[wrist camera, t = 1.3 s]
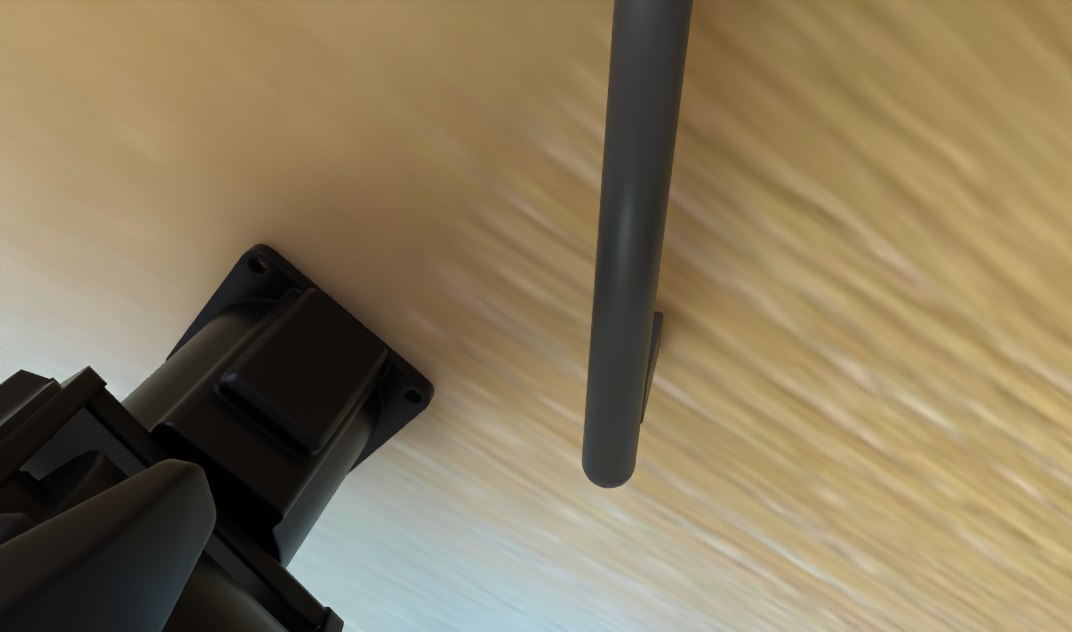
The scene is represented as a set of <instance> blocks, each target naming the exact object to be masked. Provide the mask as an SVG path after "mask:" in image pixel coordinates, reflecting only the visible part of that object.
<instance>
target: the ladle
mask: <svg viewBox="0 0 1072 632" xmlns="http://www.w3.org/2000/svg"><path fill="white" fill-rule="evenodd" d="M692 4H693V0H615V2H614V16H613V30H612V44H611V58H610V72H609V87H608V101H607V115H606V129H605V143H604V157H603V171H602V185H601V199H600V213H599V227H598V241H597V255H596V269H595V283H594V297H593V311H592V325H591V339H590V353H589V367H588V381H587V395H586V409H585V424H584V438H583V452H582V466H583V469H584V472H585V474H586V476H587V477H588V479H589V480H590V481H591V482H593V483H594V484H596V485H597V486H600V487H603V488H615V487H618V486H621V485H623V484H624V483H625V482H627V481H628V480H629V479H630V477H631V476H632V474H633V472H634V468H635V463H636V455H637V447H638V439H639V431H640V424H641V423H642V422H643V418H644V414H645V409H646V405H647V401H648V396H649V392H650V387H651V383H652V379H653V374H654V370H655V366H656V361H657V357H658V352H659V346H660V338H661V331H662V323H663V316H664V315H663V313H659V312H654V310H655V302H656V294H657V286H658V278H659V270H660V261H661V253H662V245H663V237H664V229H665V221H666V213H667V205H668V197H669V189H670V181H671V173H672V165H673V157H674V149H675V141H676V133H677V124H678V116H679V108H680V100H681V92H682V84H683V76H684V68H685V60H686V52H687V44H688V36H689V28H690V20H691V12H692Z"/></svg>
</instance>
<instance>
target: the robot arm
mask: <svg viewBox="0 0 1072 632" xmlns="http://www.w3.org/2000/svg"><path fill="white" fill-rule="evenodd" d="M258 260H260V261H262V262H263V263H264V265H265V266H266V268H265V267H263V266H262V265H261V264H260V263H259V262H258ZM106 385H107V383H106V382H105V381H104V380H103V379H102V378H101V377H100V376H99V375H98V374H97V373H96V372H95V371H94V370H93V369H92V368H91V367H90V366H88V367H86V368H84V369H83V370H81V371H80V372H78V373H77V374H75V375H73V376H72V377H70V378H69V379H67V380H66V381H64V382H62V383H61V384H59V383H58V382H57V381H56V380H55V379H54V378H51V379H48V378H45V377H42V376H39V375H36V374H33V373H30V372H27V371H24V370H20V371H18V372H17V373H15V374H14V375H12V376H11V377H9V378H8V379H7V380H5V381H4V382H3V383H1V384H0V632H342V629H343V625H344V622H343V620H342V619H341V618H340V617H339V616H338V615H337V614H336V613H335V612H334V611H333V610H332V609H331V608H330V607H323V606H322V605H321V604H320V603H319V602H318V601H317V600H316V599H315V598H314V597H313V596H312V595H311V594H310V593H309V592H308V591H307V590H306V589H305V588H304V587H303V586H302V585H301V584H300V583H299V582H298V581H297V580H296V579H295V578H294V577H293V576H292V575H291V574H290V573H289V572H288V571H287V570H286V567H287V566H288V564H289V563H290V561H291V560H292V558H293V557H294V555H295V554H296V552H297V550H298V549H299V547H300V546H301V544H302V543H303V541H304V540H305V538H306V537H307V535H308V533H309V532H310V530H311V529H312V527H313V526H314V524H315V523H316V521H317V520H318V518H319V516H320V515H321V513H322V512H323V510H324V509H325V507H326V506H327V504H328V503H329V501H330V500H331V498H332V496H333V495H334V493H335V492H336V490H337V489H338V487H339V486H340V484H341V483H342V481H343V479H344V478H345V476H346V475H347V474H348V473H349V472H351V471H352V470H353V469H354V468H355V467H356V466H358V465H359V464H360V463H361V462H362V461H364V460H365V459H366V458H367V457H368V456H370V455H371V454H372V453H373V452H374V451H375V450H377V449H378V448H379V447H380V446H381V445H383V444H384V443H385V442H386V441H387V440H389V439H390V438H391V437H392V436H393V435H395V434H396V433H397V432H398V431H399V430H400V429H402V428H403V427H404V426H405V425H406V424H408V423H409V422H410V421H411V420H412V419H414V418H415V417H416V416H417V415H418V414H419V413H421V412H422V411H423V410H424V409H425V408H426V407H427V406H428V405H429V403H430V401H431V400H432V398H433V396H434V388H433V385H432V384H431V383H430V381H429V380H428V379H427V378H425V377H424V376H423V375H422V374H421V373H420V372H418V371H417V370H416V369H415V368H414V367H412V366H411V365H410V364H409V363H408V362H407V361H405V360H404V359H403V358H402V357H401V356H399V355H398V354H397V353H396V352H395V351H394V350H392V349H391V348H390V347H389V346H388V345H386V344H385V343H384V342H383V341H382V340H380V339H379V338H378V337H377V336H376V335H375V334H373V333H372V332H371V331H370V330H369V329H367V328H366V327H365V326H364V325H363V324H362V323H360V322H359V321H358V320H357V319H356V318H354V317H353V316H352V315H351V314H350V313H349V312H347V311H346V310H345V309H344V308H343V307H341V306H340V305H339V304H338V303H337V302H336V301H334V300H333V299H332V298H331V297H330V296H328V295H327V294H326V293H325V292H324V291H323V290H321V289H320V288H319V287H318V286H317V285H315V284H314V283H313V282H312V281H311V280H310V279H308V278H307V277H306V276H305V275H304V274H302V273H301V272H300V271H299V270H298V269H296V268H295V267H294V266H293V265H292V264H291V263H289V262H288V261H287V260H286V259H285V258H283V257H282V256H281V255H280V254H279V253H278V252H276V251H275V250H274V249H272V248H271V247H269V246H267V245H264V244H257V245H254V246H253V247H252V248H250V249H249V250H248V251H247V252H246V253H244V254H243V255H242V257H241V258H240V259H239V261H238V262H237V264H236V265H235V266H234V268H233V269H232V270H231V272H230V273H229V274H228V276H227V277H226V278H225V280H224V281H223V283H222V284H221V285H220V287H219V288H218V289H217V291H216V292H215V293H214V295H213V296H212V297H211V299H210V300H209V301H208V303H207V304H206V306H205V307H204V308H203V310H202V311H201V312H200V314H199V315H198V316H197V318H196V319H195V320H194V322H193V323H192V325H191V326H190V327H189V329H188V330H187V331H186V333H185V334H184V335H183V337H182V338H181V339H180V341H179V342H178V343H177V345H176V346H175V348H174V349H173V350H172V352H171V353H170V354H169V356H168V357H167V359H166V362H165V363H164V364H163V365H162V366H161V367H160V368H158V369H157V370H156V371H155V372H154V373H153V374H152V375H151V376H150V377H149V378H147V379H146V380H145V381H144V382H143V383H142V384H141V385H140V386H139V387H138V388H136V389H135V390H134V391H133V392H132V393H131V394H130V395H129V396H128V397H127V398H125V399H124V400H123V401H122V402H121V403H120V402H119V401H118V400H117V399H116V398H115V397H114V396H113V395H112V394H111V393H110V392H109V391H108V390H107V389H106V388H105V386H106ZM412 390H415V391H417V392H418V393H419V394H420V395H417V394H415V393H413V391H412Z"/></svg>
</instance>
